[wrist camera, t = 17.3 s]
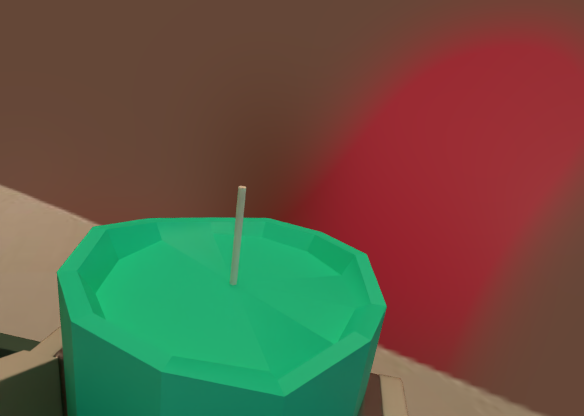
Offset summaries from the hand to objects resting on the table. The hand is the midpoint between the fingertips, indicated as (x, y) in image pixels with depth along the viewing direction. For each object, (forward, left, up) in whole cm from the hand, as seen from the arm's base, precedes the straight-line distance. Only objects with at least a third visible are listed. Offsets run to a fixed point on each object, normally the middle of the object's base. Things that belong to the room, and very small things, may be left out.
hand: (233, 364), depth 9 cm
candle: (-1, -1, -7) cm, 7 cm away
